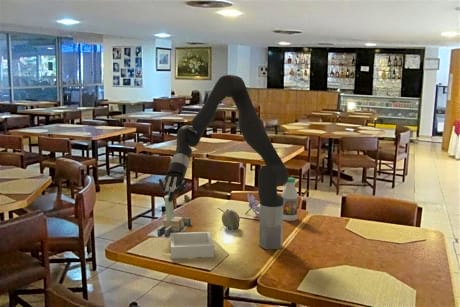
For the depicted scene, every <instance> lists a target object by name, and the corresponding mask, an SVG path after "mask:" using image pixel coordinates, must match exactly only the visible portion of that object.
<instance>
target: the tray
mask: <svg viewBox="0 0 460 307" xmlns="http://www.w3.org/2000/svg"><path fill="white" fill-rule="evenodd" d="M169 240H170V241H169V242H170V258H171V260H175V259H195V258H196V259H197V257H202V258H215V244H214V241H213V238H212V234H211V232H210V231H196V232H193V231H192V232H191V231H189V232H181V233H170V238H169Z"/></svg>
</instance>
